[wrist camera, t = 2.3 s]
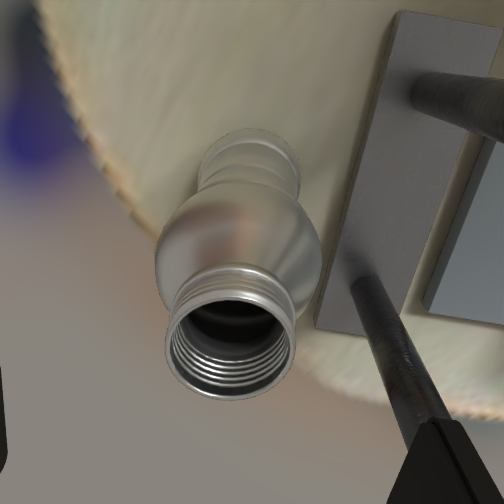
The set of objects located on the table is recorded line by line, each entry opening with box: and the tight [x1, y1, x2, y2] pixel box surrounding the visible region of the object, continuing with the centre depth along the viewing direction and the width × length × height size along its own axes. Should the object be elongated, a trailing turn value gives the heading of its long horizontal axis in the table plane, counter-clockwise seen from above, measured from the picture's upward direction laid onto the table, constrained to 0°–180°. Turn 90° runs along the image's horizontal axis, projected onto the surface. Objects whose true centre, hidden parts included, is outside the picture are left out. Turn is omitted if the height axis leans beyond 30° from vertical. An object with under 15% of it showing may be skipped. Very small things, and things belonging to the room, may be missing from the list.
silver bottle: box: [155, 129, 322, 401], centre depth 21 cm, size 6×7×20 cm
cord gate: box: [314, 10, 504, 451], centre depth 21 cm, size 22×6×20 cm, turn 170°
